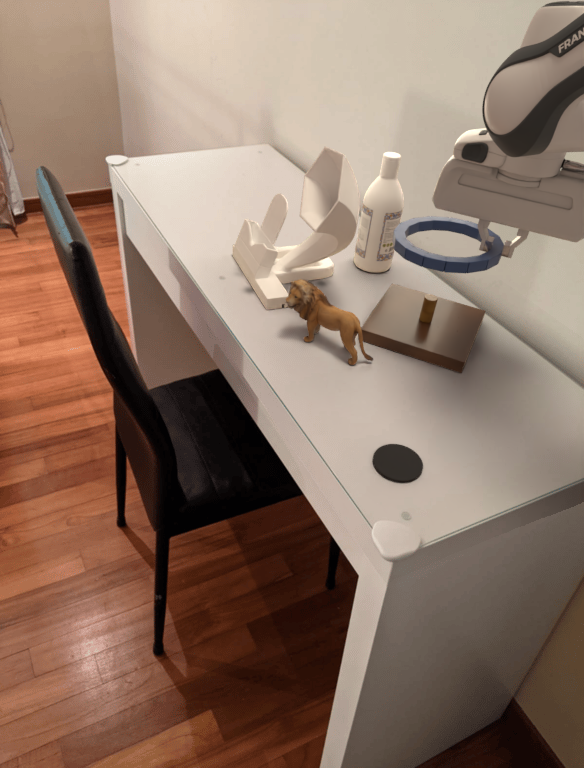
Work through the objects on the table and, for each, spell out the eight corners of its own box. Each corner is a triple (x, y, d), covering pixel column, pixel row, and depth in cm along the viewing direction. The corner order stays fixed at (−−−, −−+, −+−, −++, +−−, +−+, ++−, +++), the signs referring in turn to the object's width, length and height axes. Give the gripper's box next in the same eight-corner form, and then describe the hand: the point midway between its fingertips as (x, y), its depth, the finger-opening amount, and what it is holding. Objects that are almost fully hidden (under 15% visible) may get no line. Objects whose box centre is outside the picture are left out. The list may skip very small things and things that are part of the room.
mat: (427, 456, 75) (428, 454, 74) (414, 490, 70) (415, 487, 70) (381, 439, 76) (382, 437, 76) (365, 471, 72) (366, 468, 72)
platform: (482, 321, 100) (493, 289, 96) (461, 373, 88) (472, 339, 85) (389, 293, 104) (396, 261, 101) (358, 339, 93) (364, 306, 89)
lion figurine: (276, 336, 92) (281, 284, 86) (294, 320, 95) (299, 269, 90) (365, 372, 87) (375, 319, 81) (380, 353, 90) (391, 302, 85)
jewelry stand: (232, 255, 110) (235, 109, 94) (311, 246, 115) (327, 107, 99) (280, 332, 93) (294, 169, 77) (370, 318, 98) (402, 163, 82)
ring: (508, 239, 90) (511, 229, 89) (489, 283, 79) (493, 272, 78) (409, 218, 95) (411, 209, 94) (378, 257, 84) (380, 246, 83)
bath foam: (394, 260, 114) (417, 152, 101) (386, 277, 108) (409, 165, 96) (358, 252, 115) (376, 144, 102) (348, 268, 110) (366, 156, 97)
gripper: (616, 162, 75) (574, 263, 84) (454, 129, 81) (430, 226, 90) (614, 178, 71) (571, 282, 79) (442, 141, 76) (419, 242, 85)
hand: (495, 252), depth 85 cm, fingers closed on ring, 2 cm apart
